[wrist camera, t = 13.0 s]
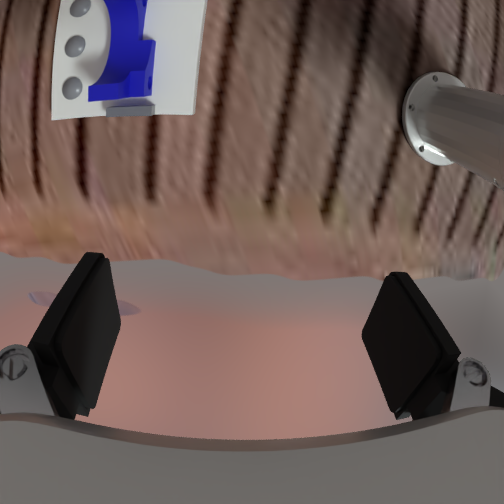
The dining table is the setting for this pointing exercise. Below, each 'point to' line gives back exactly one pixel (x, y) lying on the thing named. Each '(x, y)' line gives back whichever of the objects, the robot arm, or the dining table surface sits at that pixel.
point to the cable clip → (126, 54)
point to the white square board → (97, 50)
